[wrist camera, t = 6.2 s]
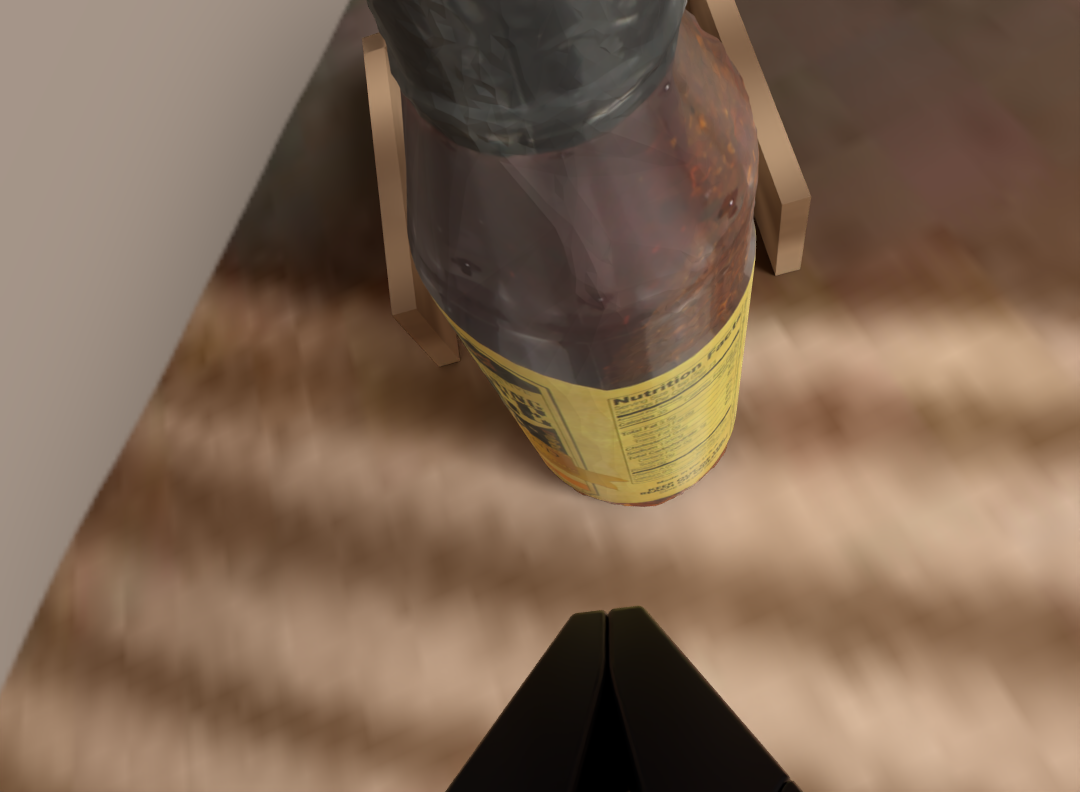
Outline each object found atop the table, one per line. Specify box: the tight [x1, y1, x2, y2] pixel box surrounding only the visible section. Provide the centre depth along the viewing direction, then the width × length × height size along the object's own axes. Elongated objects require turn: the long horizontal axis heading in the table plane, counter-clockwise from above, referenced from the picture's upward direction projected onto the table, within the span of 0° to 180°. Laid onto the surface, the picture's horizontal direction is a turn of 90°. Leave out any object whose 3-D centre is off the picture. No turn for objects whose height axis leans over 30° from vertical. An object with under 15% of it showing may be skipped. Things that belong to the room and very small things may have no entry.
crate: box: [362, 0, 811, 367], centre depth 26 cm, size 12×13×4 cm
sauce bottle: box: [367, 0, 759, 507], centre depth 15 cm, size 6×6×20 cm
